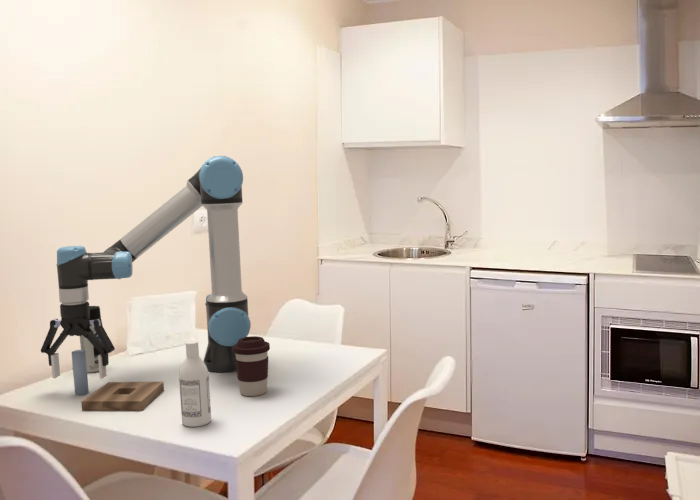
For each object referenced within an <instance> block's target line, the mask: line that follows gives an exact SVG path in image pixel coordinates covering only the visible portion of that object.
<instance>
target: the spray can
mask: <svg viewBox="0 0 700 500" xmlns="http://www.w3.org/2000/svg"><path fill="white" fill-rule="evenodd" d="M89 308H90V319H91V320H96V319H99V318H100V319H101V320H102V316H101V307H100V306H99V305H89ZM90 329H91V330H92V331H93V333H94V334H95V335H96V337H97V338H98V339H99V340H100V338H99V336H98V334H97V333H96V331H95V328H94V327H92V325H91V326H90ZM79 341H80V342H79V343H80V350H85V351H86V364H87V374H89V373H90V374H91V373H92V374H94V373H99V361H98V355H100V353H99V351H98V350H97V349H96V348H95V347H94V346H93V345H92V344H91V343H90V341H89V340H88V339H87V338H85V337H84V336H83V335H81V336H79ZM100 341H101V340H100Z"/></svg>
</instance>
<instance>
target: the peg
mask: <svg viewBox="0 0 700 500" xmlns="http://www.w3.org/2000/svg"><path fill="white" fill-rule="evenodd" d="M71 361H72V373H73V375H72V376H73V384H74V385H73V387H74V394H75V395H76V396H84V395H87V394H89V392H90V391H89V378H88V376H89V375H88V373H87V364H86V351H85V350H81V349H76V350H73V351H71Z"/></svg>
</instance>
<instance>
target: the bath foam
mask: <svg viewBox="0 0 700 500" xmlns="http://www.w3.org/2000/svg"><path fill="white" fill-rule="evenodd" d="M199 350H200V349H199V341H197V340H188V341H185V353H186V354H185V355H186V357H185V359H184V361H183V362H182V364H181V367H180V369H179V377H178V382H179V396H180V397H179V399H180V410H181V411H180V412H181V413H180V414H181V423H182V425H184V426H186V427H189V428H196V427H202V426H205V425H208V424H209V423H210V422H211V420H212V412H211V411H212V409H211V408H212V405H211V393H210V376H209V371H208V369H207V367H206V365H205V363H204V360H203V359H202V357H200V353H199V352H200V351H199Z"/></svg>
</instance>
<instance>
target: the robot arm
mask: <svg viewBox="0 0 700 500" xmlns="http://www.w3.org/2000/svg"><path fill="white" fill-rule="evenodd" d="M243 182H244V174H243V170H242V168H241V167H240V165H239V163H237V161H236V160H234V159H233V158H231V157H229V156H227V155H215V156H212V157H210V158H208V159H206V160H205V161H204V163H203V164H202V165H201V167H200V168H199V169H198V171H196V172H195V173H194V174H193V176H191V177H190V178H189V179H187V180H186V186H184V187H183V188H182V189H181V190H179V191H178V192H177V193H176V194H174V195H173V196H172V197H170V198H169V199H168V200H167V201H166V202H165V203H163V204H162V205H160V207H158V208H157V209H156V210H154V211H153V212H152V213H150V215H148V216H147V217H145V219H143V220H142V221H141V222H140V223H138V224H137V225H136V226H135V227H133V228H132V229H131V230H130V231H128V232H126V234H125V235H123V236H122V237H121V238H120V239H119V240H117V241H116V242H114V243H113V244H112V245H111V246H109V247H107V248H106V249H105V250H104V251H103V252H87V250H86V247H85V246H82V245H71V246H69V245H67V246H62V247H59V248H58V249H57V250H56V269H57V272H56V273H57V282H58V298H59V303H60V305H59V308H60V309H59V310H60V311H59V312H60V318H61V319H59V318H54V319H51V320H50V321H49V329H48V331H47V334H46V335H45V338H44V341H43V344H42V346H41V349H40V352H41V354H46V355H47V357H48V359H47V361H48V366H51V372H52V373H51V375H52V379H56V378H59V377H60V376H61V369H60V357H59V356H60V355H59V354H60V353H59V352H58V349H59V348H60V346H62V344H63V343H64V342H65V340H66V339H67V337H68V336H69V337H75V336H77V337H80V336H81V335H83V336H84V337H85V338H87V339H88V340H89V341H90V343H91V344H92V345H93V346H94V347H95V348H96V349H97V350H98V351H99V353H100V355H98V361H99V372H98V373H99V376H98V377H99V379H100V380H102V379H104V378H106V377H107V366H108V365H109V362H110V361H109V354H110V353H112V352H114V351H115V350H116V349H115V346H114V345H113V344H114V343H112V340H111V338H110V337H109V335H108V334H107V332H106V329H105V328H104V326H103V322H102V318H101V319H100V318H99V319H96V320H91V319H90V308H89V306H90V302H89V300H90V298H89V283H88V281H96V280H115V279H116V280H121V279H128V278H131V277H132V276H133V263H134V261H136V260H137V259H138V258H140V257H141V256H142V255H143V254H144V253H146V252H147V251H148V250H149V249H151V248H152V247H153V246H155V245H156V244H157V243H159V242H160V241H161V240H162V239H163V238H164V237H165V236H167V235H168V234H169V233H171V232H172V231H173V230H174V229H176V228H177V227H178V226H180V225H181V224H182V223H183V222H184V221H185V220H187V219H188V218H190V216H192V215H193V214H195V213H196V212H197V210H199V209H201V208H202V207H203V208H204V209H205V210H206V212H207V213H206V214H207V231H208V245H209V246H208V250H209V264H210V265H209V267H210V282H211V284H210V285H211V294H208V295H206V296H205V304H204V305H205V309H206V312H205V313H206V324H207V327H206V328H207V346H206V350H205V352H204V353H205V354H204V359H203V362H204V363H205V365H206V367H207V369H208V372H215V373H229V372H230V373H231V372H237V369H236V361H235V359H236V354H235V353H234V352H233V345H235V344H236V343H238V340H239V339H241V338H244V337H249V333H250V331H251V327H252V326H251V324H252V323H251V320H250V317H249V305H248V304H249V303H248V301H249V300H248V295H247V294H246V293H244V292H243V290H242V289H243V288H242V287H243V286H242V273H241V272H242V270H241V269H242V268H241V267H242V266H241V249H240V233H239V232H240V229H239V211H238V209H239V207H240V206H242V204H243ZM91 325H92V327H94V328H95V331H96V333H97V334H98V336H99V338H100V340H101V341H100V340H99V339H98V338H97V337H96V335H95V334H94V333H93V331H92V330H91V329H90V326H91ZM60 326H61V328H62V329H63V330H62V331H61V332H60V334H59V336H58V337H57V338H56V339H55V341H54V338H55V336H56V333H57V331H58V329H59V327H60ZM53 341H54V342H53Z"/></svg>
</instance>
